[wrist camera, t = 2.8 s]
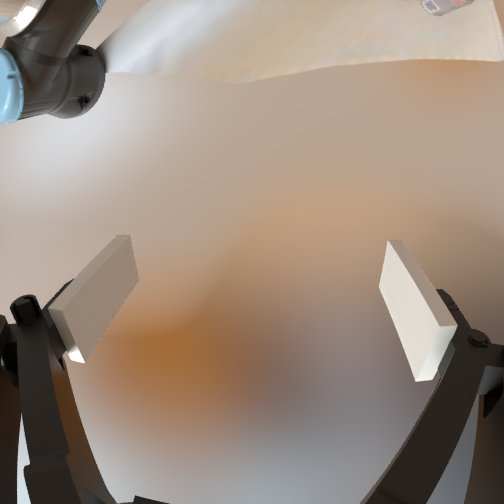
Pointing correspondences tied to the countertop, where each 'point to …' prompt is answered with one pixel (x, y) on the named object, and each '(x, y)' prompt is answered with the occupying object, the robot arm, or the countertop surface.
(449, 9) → the energy drink
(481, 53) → the countertop surface
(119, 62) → the countertop surface
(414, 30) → the countertop surface
